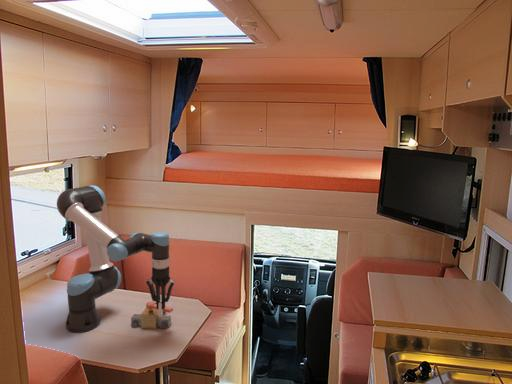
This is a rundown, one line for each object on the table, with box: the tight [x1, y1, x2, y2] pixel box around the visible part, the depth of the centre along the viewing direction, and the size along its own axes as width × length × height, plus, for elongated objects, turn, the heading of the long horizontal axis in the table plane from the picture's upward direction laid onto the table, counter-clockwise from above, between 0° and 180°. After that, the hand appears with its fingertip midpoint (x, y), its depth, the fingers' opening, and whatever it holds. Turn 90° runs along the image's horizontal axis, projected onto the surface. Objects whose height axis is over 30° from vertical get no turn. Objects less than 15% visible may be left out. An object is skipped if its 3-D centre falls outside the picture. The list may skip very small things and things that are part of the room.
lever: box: [145, 301, 174, 314], centre depth 188 cm, size 14×4×2 cm, turn 65°
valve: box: [130, 307, 172, 330], centre depth 192 cm, size 18×7×9 cm, turn 86°
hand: (161, 315), depth 185 cm, fingers closed
